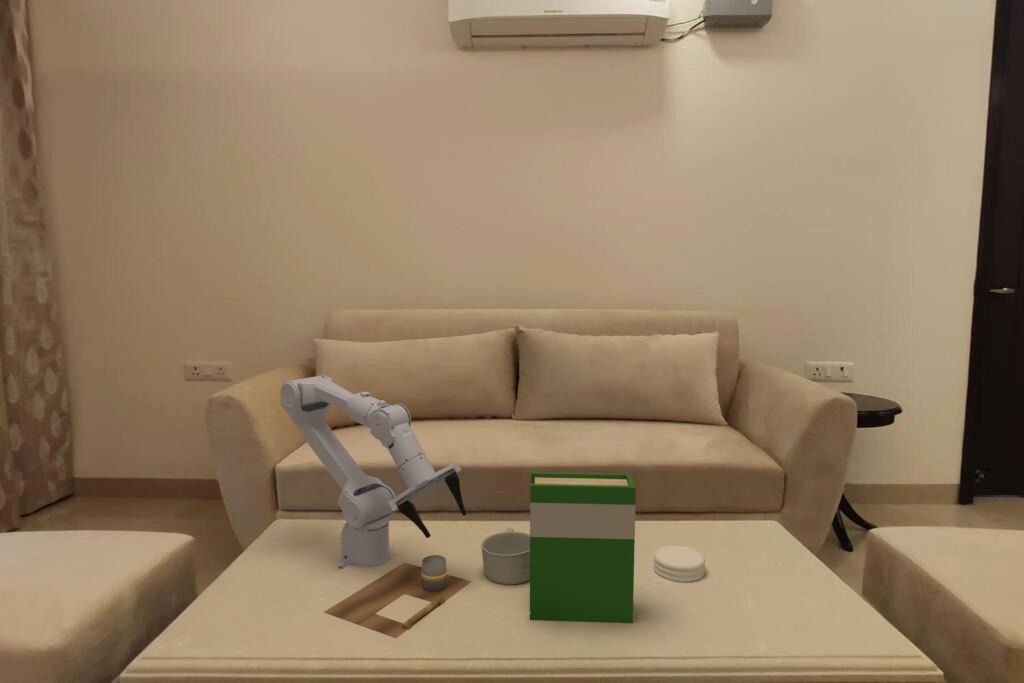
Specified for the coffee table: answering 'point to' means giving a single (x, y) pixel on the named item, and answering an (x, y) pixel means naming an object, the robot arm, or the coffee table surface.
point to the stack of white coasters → (679, 563)
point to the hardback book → (582, 547)
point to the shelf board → (392, 599)
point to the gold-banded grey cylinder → (434, 573)
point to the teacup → (507, 557)
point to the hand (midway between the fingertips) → (447, 525)
